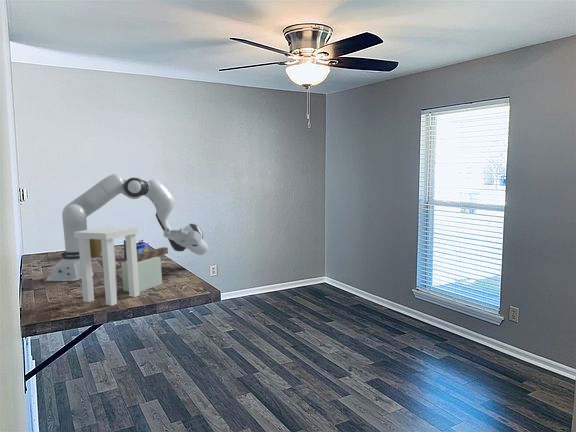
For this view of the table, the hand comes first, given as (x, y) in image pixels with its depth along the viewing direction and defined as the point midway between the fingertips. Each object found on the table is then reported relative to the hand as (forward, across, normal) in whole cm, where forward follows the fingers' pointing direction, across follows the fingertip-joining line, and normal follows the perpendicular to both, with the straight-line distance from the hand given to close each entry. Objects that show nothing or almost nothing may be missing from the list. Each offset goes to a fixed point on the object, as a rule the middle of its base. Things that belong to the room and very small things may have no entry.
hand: (173, 229), depth 226 cm
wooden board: (+11, 0, +19) cm, 22 cm away
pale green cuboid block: (+8, 0, +33) cm, 34 cm away
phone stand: (-37, -58, +7) cm, 69 cm away
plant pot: (-36, -89, +8) cm, 97 cm away
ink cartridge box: (-27, -39, +13) cm, 49 cm away
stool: (+25, 0, +43) cm, 49 cm away
